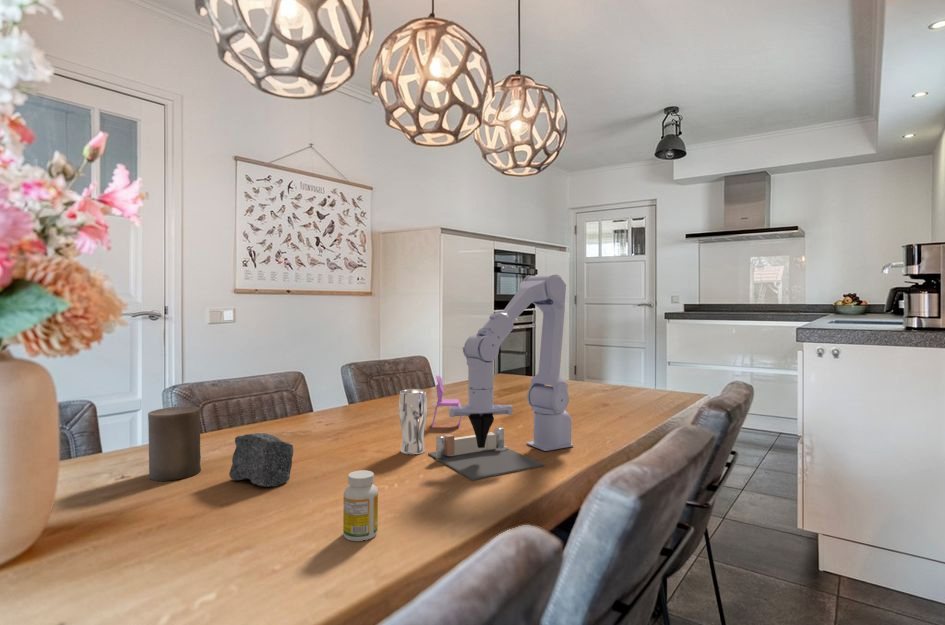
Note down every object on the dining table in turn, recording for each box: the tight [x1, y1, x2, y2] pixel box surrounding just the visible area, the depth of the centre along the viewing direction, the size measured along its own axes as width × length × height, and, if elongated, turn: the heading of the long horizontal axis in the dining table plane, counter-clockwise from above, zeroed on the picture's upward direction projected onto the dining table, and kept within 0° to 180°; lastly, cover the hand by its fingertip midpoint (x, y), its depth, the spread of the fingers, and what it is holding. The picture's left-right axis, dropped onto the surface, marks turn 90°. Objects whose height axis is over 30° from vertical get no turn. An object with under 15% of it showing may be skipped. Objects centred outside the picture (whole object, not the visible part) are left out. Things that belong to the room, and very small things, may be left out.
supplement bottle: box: [342, 469, 379, 542], centre depth 81 cm, size 5×5×10 cm
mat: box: [428, 448, 546, 481], centre depth 120 cm, size 19×21×1 cm
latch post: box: [435, 435, 447, 463], centre depth 121 cm, size 4×3×6 cm
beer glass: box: [398, 388, 428, 456], centre depth 127 cm, size 7×7×15 cm
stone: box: [228, 432, 294, 488], centre depth 105 cm, size 12×8×10 cm, turn 64°
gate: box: [443, 431, 496, 456], centre depth 124 cm, size 13×2×4 cm, turn 120°
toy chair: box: [431, 375, 462, 429], centre depth 154 cm, size 8×9×15 cm
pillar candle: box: [147, 403, 202, 482], centre depth 110 cm, size 10×10×15 cm
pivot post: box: [491, 426, 509, 451], centre depth 128 cm, size 4×4×6 cm
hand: (480, 446), depth 118 cm, fingers closed
